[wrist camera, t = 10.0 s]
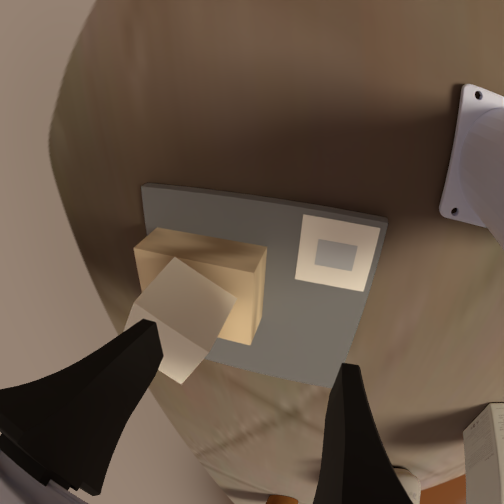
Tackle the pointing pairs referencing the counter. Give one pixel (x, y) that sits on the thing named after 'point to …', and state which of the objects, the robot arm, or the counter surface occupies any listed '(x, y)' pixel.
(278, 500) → the disposable coffee cup
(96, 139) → the counter surface
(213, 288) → the cream cube
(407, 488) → the teacup
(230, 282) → the oak base brick
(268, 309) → the board
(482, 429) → the small box
